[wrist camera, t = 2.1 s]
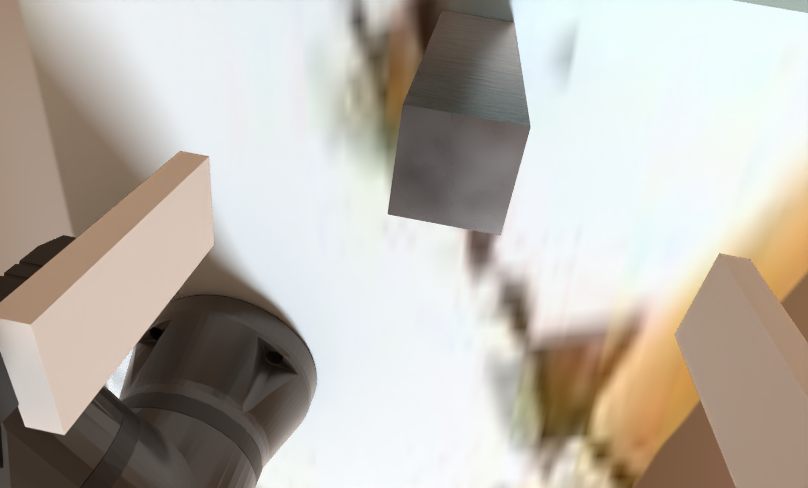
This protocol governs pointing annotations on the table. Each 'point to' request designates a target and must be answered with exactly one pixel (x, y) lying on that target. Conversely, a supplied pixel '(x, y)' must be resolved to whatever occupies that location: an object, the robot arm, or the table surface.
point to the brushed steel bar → (462, 127)
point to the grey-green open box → (782, 4)
